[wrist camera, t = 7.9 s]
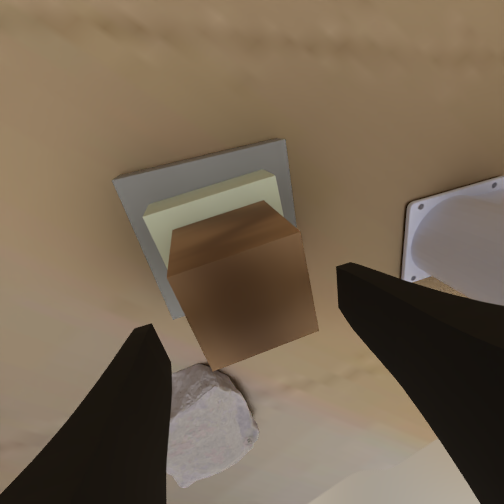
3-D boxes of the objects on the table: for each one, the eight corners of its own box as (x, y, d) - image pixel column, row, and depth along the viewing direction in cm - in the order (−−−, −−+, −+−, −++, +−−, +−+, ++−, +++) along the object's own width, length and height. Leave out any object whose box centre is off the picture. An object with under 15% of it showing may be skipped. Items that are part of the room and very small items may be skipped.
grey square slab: (272, 137, 18) (285, 138, 15) (291, 264, 22) (303, 279, 20) (121, 173, 16) (111, 180, 14) (174, 299, 21) (172, 319, 19)
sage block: (262, 169, 16) (275, 175, 14) (284, 265, 19) (297, 283, 17) (148, 204, 15) (142, 216, 13) (191, 298, 18) (192, 321, 16)
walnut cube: (263, 200, 14) (300, 231, 10) (282, 276, 16) (319, 330, 12) (172, 229, 13) (166, 277, 9) (204, 304, 16) (212, 371, 11)
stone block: (203, 338, 25) (109, 410, 23) (218, 375, 21) (106, 466, 19) (256, 396, 31) (185, 457, 29) (276, 434, 27) (195, 507, 25)
